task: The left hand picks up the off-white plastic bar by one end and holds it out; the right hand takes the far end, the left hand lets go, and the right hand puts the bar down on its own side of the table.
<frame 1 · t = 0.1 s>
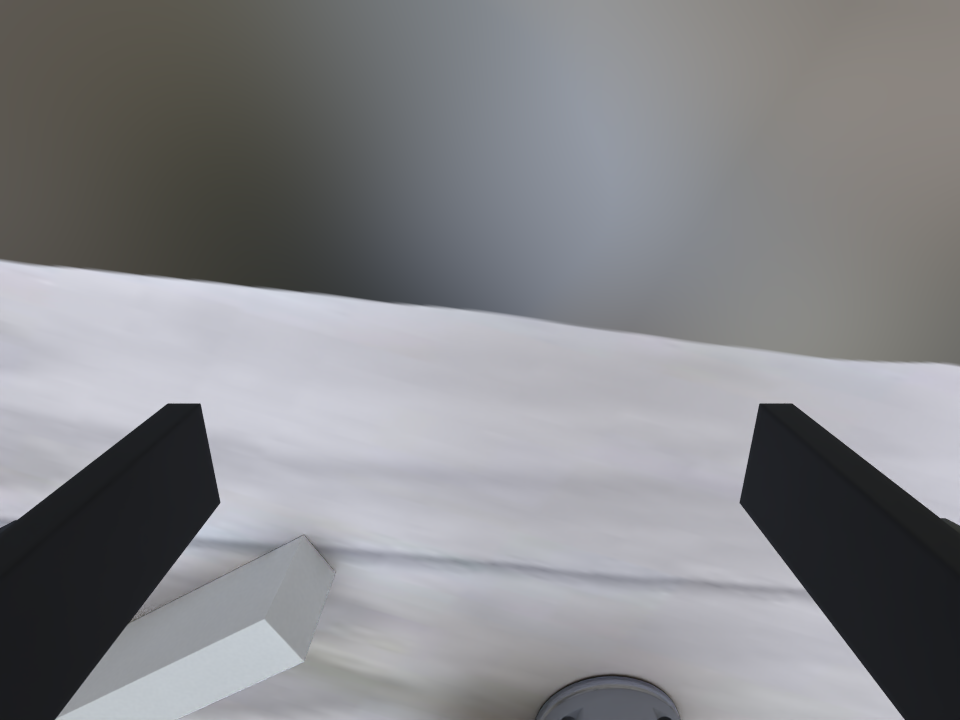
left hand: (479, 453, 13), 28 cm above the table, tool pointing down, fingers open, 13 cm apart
bar: (208, 609, 51), on the table
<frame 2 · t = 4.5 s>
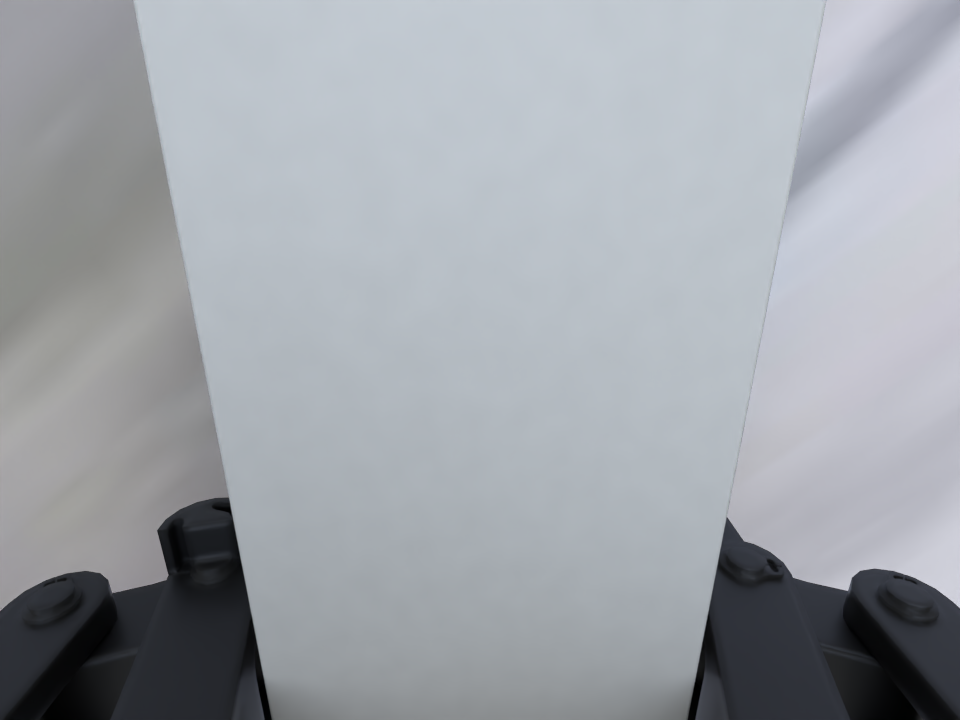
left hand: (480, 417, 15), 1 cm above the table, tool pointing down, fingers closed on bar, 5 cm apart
bar: (479, 52, 12), on the table, touching left hand
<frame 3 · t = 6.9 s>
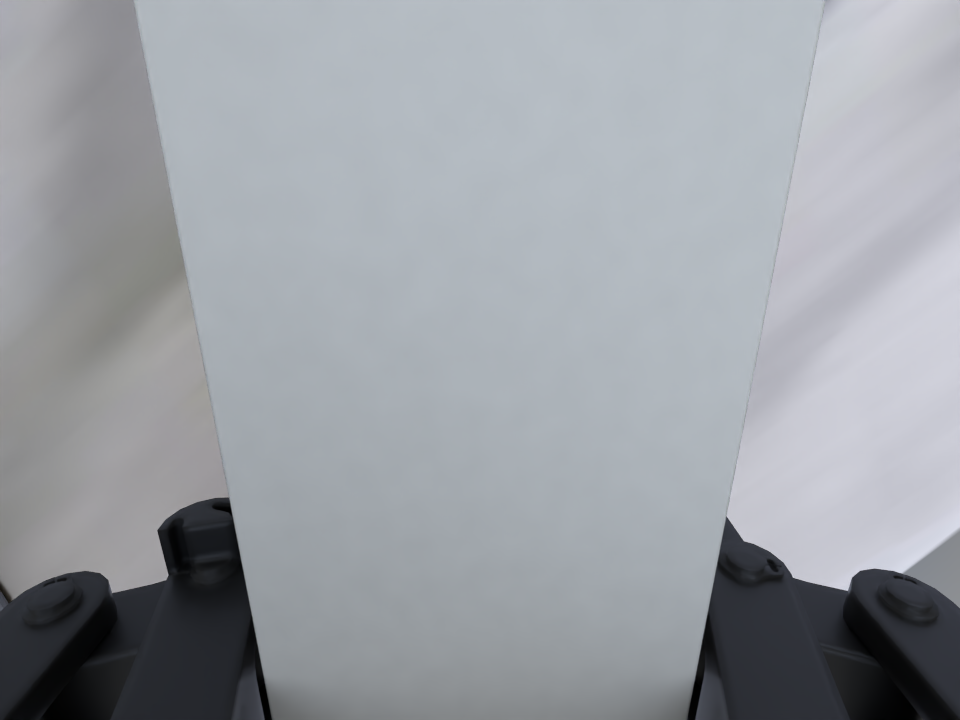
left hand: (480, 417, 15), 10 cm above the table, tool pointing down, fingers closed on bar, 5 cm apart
bar: (479, 52, 12), point 9 cm above the table, touching left hand
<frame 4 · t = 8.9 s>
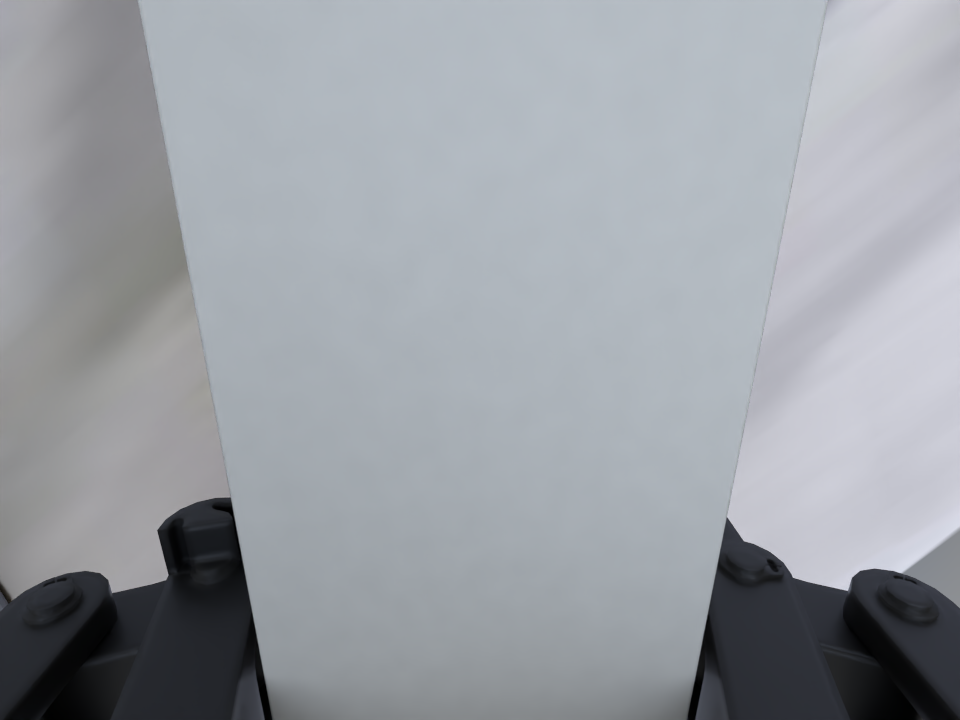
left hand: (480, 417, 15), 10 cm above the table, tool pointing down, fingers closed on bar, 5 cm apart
bar: (481, 53, 12), point 9 cm above the table, touching left hand, right hand
when the left hand's fingers open (10 cm above the table, at t = 9.7 s): bar stays where it is, held by the right hand.
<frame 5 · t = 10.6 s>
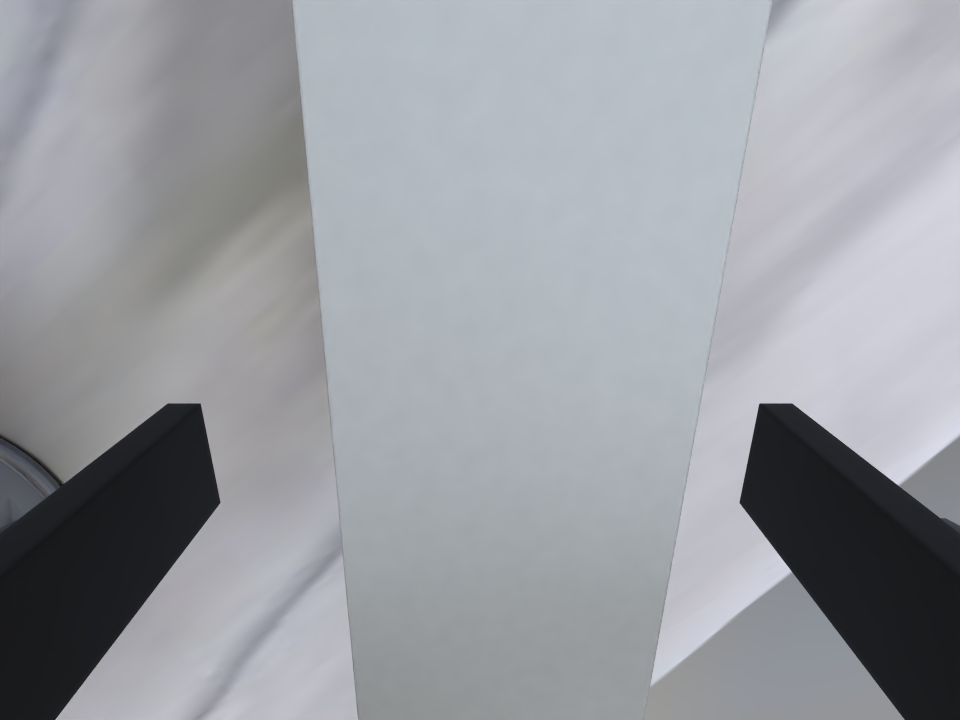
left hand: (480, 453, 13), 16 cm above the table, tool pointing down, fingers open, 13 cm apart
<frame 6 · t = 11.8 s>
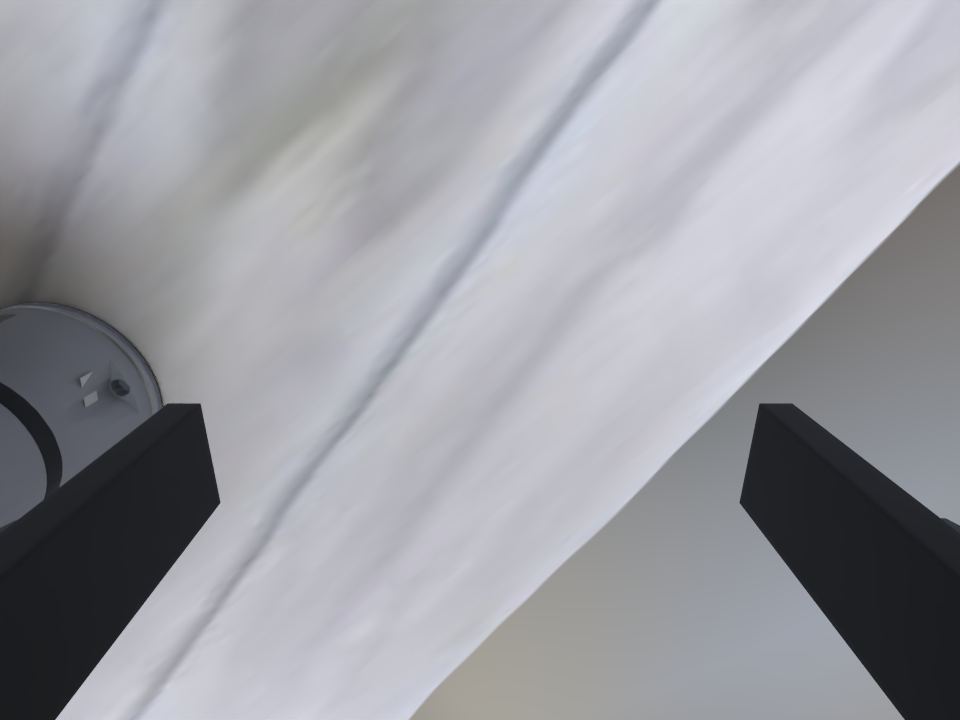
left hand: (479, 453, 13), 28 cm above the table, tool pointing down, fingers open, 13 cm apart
when the right hand's fingers open (2 cm above the table, at t = 14.8 s): bar drops 1 cm, on the table.
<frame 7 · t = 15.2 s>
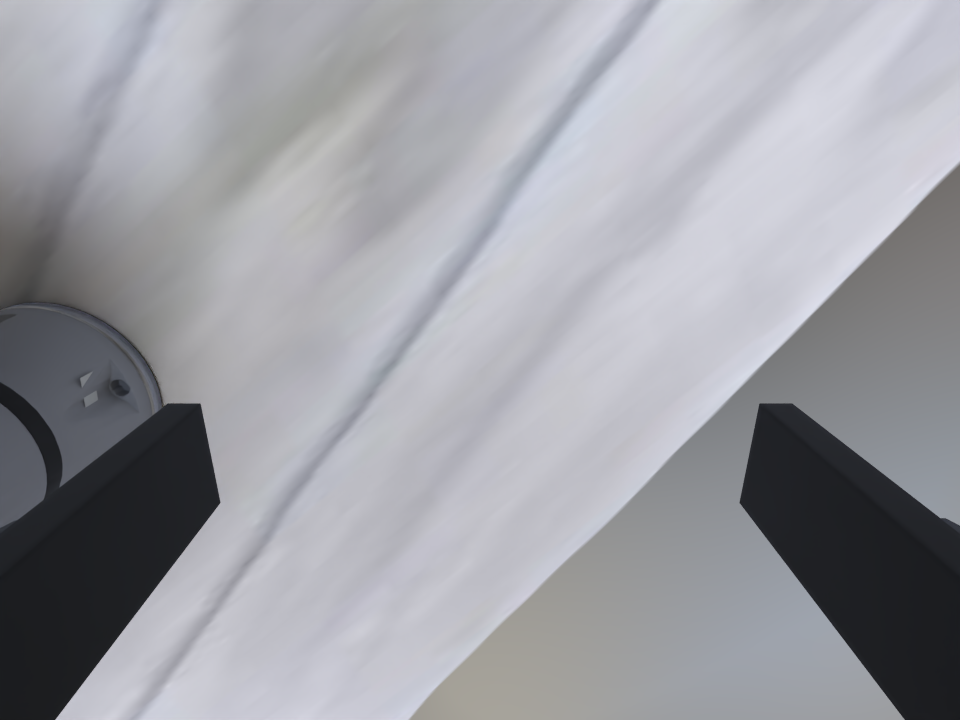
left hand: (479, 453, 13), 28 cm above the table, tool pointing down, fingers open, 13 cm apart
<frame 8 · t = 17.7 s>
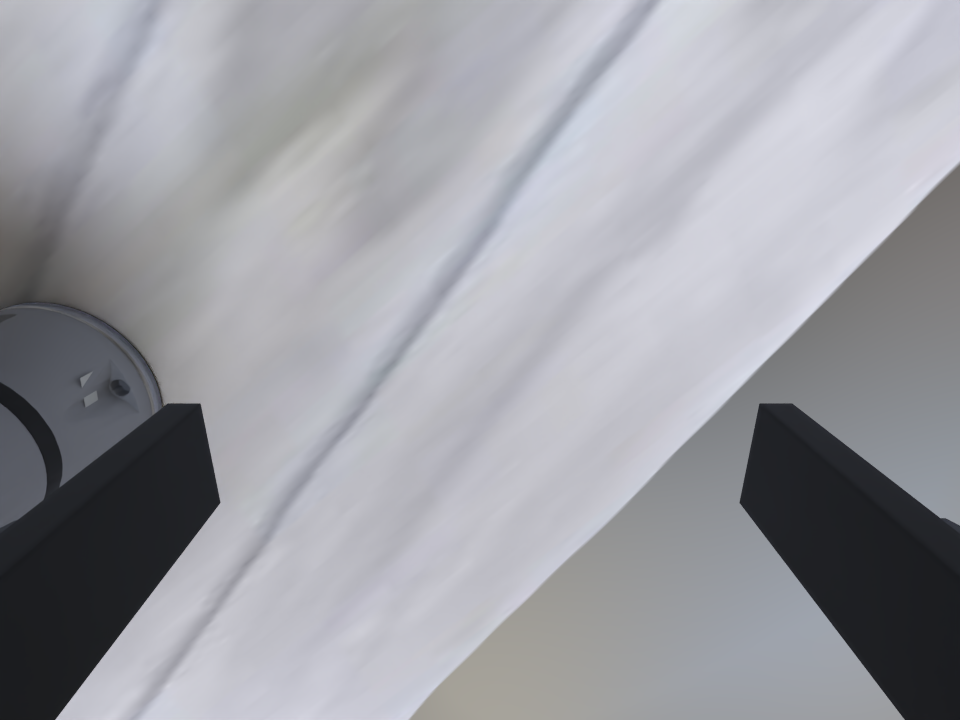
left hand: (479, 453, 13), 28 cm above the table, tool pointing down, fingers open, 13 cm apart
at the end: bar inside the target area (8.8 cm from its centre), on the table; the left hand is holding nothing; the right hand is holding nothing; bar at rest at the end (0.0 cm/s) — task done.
